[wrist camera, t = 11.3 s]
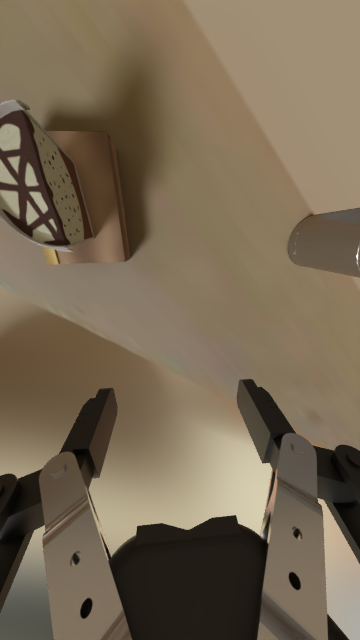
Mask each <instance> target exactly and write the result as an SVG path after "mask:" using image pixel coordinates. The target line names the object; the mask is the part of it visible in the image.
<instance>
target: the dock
mask: <svg viewBox="0 0 360 640" xmlns="http://www.w3.org/2000/svg"><path fill="white" fill-rule="evenodd" d="M46 132H47V133H48V134H49V135H50V136H51V137H52V138H53V139H54V140H55V141H56V143H57V144H58V145H59V146H60V147H61V148H62V149H63V150H64V151H65V152H66V153H67V154H68V155H69V156H70V157H71V159H72V160H73V161H74V162H75V165H76V169H77V173H78V176H79V180H80V184H81V188H82V192H83V195H84V199H85V203H86V207H87V211H88V214H89V218H90V222H91V226H92V230H93V234H94V237H95V238H94V239H91V240H88V241H85V242H82V243H79V244H76V245H73V246H70V247H68V248H69V249H72V250H74V251H75V252H64V251H57V250H53V249H50V248H46V247H43V246H42V247H43V250H44V254H45V257H46V260H47V263H48V265H50V264H73V263H102V262H125V261H127V260H129V259H130V252H129V244H128V236H127V228H126V221H125V213H124V205H123V198H122V190H121V182H120V175H119V167H118V159H117V151H116V148H115V146H114V144H113V142H112V140H111V138H110V137H109V135H108V133H107V131H46Z"/></svg>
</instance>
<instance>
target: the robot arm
mask: <svg viewBox="0 0 360 640" xmlns="http://www.w3.org/2000/svg"><path fill="white" fill-rule="evenodd" d="M288 253H289V256H290V258H291V260H292V261H293V262H294V263H295V264H297V265H299V266H304V267H309V268H314V269H319V270H324V271H329V272H334V273H339V274H344V275H349V276H354V277H360V208H356V209H349V210H343V211H337V212H330V213H324V214H318V215H313V216H310V217H308V218H305V219H304V220H303V221H301V222H300V223H299V224H298V225H297V226H296V228H295V229H294V230H293V232H292V234H291V236H290V239H289V242H288ZM237 404H238V408H239V410H240V412H241V415H242V417H243V419H244V422H245V424H246V426H247V428H248V431H249V433H250V436H251V438H252V440H253V442H254V445H255V447H256V449H257V452H258V454H259V456H260V459H261V461H262V463H270V465H271V467H272V473H271V479H270V486H269V491H268V497H267V503H266V509H265V514H264V518H263V522H262V527H261V532H260V536H259V535H258V534H257V533H255V532H254V531H252V530H251V529H249V528H247V527H245V526H243V525H240V524H238V521H237V517H236V515H234V516H225V517H216V518H211V519H209V520H207V521H205V522H203V523H202V524H199V525H198V526H196V527H194V528H192V529H190V530H185V529H181V528H177V527H174V526H170V525H166V524H163V523H160V524H151V525H142V526H137V533H136V535H135V536H133V537H132V538H130V539H129V540H127V541H126V542H125V543H124V544H123V545H121V546H120V548H118V549H117V551H116V552H115V553H114V554H113V555H111V552H110V549H109V546H108V543H107V540H106V538H105V535H104V533H103V530H102V527H101V524H100V521H99V518H98V515H97V512H96V509H95V506H94V503H93V500H92V497H91V494H90V491H89V486H90V483H91V480H92V478H99V477H100V473H101V470H102V466H103V463H104V459H105V455H106V452H107V449H108V445H109V441H110V437H111V434H112V431H113V427H114V423H115V420H116V416H117V402H116V398H115V393H114V389H113V388H105V389H99V391H98V393H97V395H96V397H95V398H90V399H89V400H88V401H87V402H86V403H85V405H84V406H83V407H82V409H81V411H80V413H79V416H78V417H77V419H76V421H75V423H74V425H73V427H72V429H71V431H70V433H69V435H68V437H67V439H66V441H65V443H64V445H63V447H62V449H61V451H60V453H59V454H58V455H56V456H54V457H53V458H52V459H51V460H49V461H48V462H47V464H46V465H45V466H44V467H43V468H42V469H41V470H38V471H36V472H34V473H31V474H29V475H26V476H24V477H21V478H19V479H17V477H16V476H15V475H13V474H5V475H2V476H0V612H1V610H2V607H3V605H4V602H5V600H6V597H7V595H8V592H9V590H10V588H11V585H12V583H13V580H14V578H15V575H16V573H17V571H18V568H19V566H20V563H21V561H22V559H23V556H24V554H25V551H26V549H27V546H28V544H29V542H30V539H31V537H32V534H33V532H34V530H35V529H38V528H40V527H42V526H44V525H45V533H44V535H43V552H44V560H45V568H46V577H47V585H48V594H49V602H50V610H51V618H52V627H53V636H54V640H349V639H348V638H347V637H346V635H345V634H344V633H343V632H342V631H341V629H340V628H339V627H338V626H337V625H336V623H335V622H334V621H333V620H332V619H331V618H330V616H329V615H328V614H327V602H326V580H325V579H326V577H325V554H324V529H323V512H322V506H321V505H320V504H319V503H318V499H317V498H320V499H323V500H324V501H325V502H326V504H327V506H328V508H329V510H330V512H331V513H332V515H333V517H334V518H335V520H336V522H337V524H338V526H339V527H340V529H341V531H342V533H343V535H344V537H345V538H346V540H347V542H348V544H349V546H350V547H351V549H352V551H353V553H354V554H355V556H356V558H357V560H358V562H359V563H360V451H359V450H357V449H356V448H353V447H351V446H348V445H339V446H337V447H336V449H335V451H333V450H329V449H325V448H320V447H316V446H313V445H311V443H310V442H309V441H308V440H307V439H305V438H304V437H302V436H300V435H298V434H296V433H295V431H294V430H293V428H292V427H291V425H290V424H289V422H288V421H287V419H286V418H285V416H284V415H283V413H282V412H281V410H280V409H279V408H278V406H277V404H276V403H275V402H274V400H273V398H272V397H271V395H270V394H269V393H268V392H267V391H266V390H265V389H263V388H262V387H257V386H256V384H255V382H254V381H253V380H252V379H245V380H239V385H238V392H237Z"/></svg>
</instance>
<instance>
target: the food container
mask: <svg viewBox="0 0 360 640" xmlns="http://www.w3.org/2000/svg"><path fill="white" fill-rule="evenodd" d="M29 109H30V107H29V106H27V105H26V104H24V103H23V102H21V101H20V100H19V101H17V100H15V99H14V100H9V101H5V102H3V103H0V217H1V218H2V219H3V220H4V221H5V222H6V223H7V224H8V225H9V226H10V227H11V228H12V229H13V230H15V231H16V232H17V233H19V234H20V235H22V236H23V237H25V238H26V239H28V240H30V241H31V242H33V243H36V244H38V245H40V246H43V247H46V248H50V249H53V250H57V251H64V252H75V251H74V250H72V249H69V248H68V247H70V246H73V245H76V244H79V243H82V242H85V241H88V240H91V239H94V238H95V237H94V234H93V230H92V226H91V222H90V218H89V214H88V211H87V207H86V203H85V199H84V195H83V192H82V188H81V184H80V180H79V176H78V173H77V169H76V165H75V162H74V161H73V160H72V159H71V157H70V156H69V155H68V154H67V153H66V152H65V151H64V150H63V149H62V148H61V147H60V146H59V145H58V144H57V143H56V141H55V140H54V139H53V138H52V137H51V136H50V135H49V134H48V133H47V132H46V131H45V130H44V129H43V128H42V127H41V125H40V124H39V123H38V122H37V121H36V120H35V119H34V118H33V117H32V116H31V115H30V114H29V113H28V112H27V111H26V110H29Z"/></svg>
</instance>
